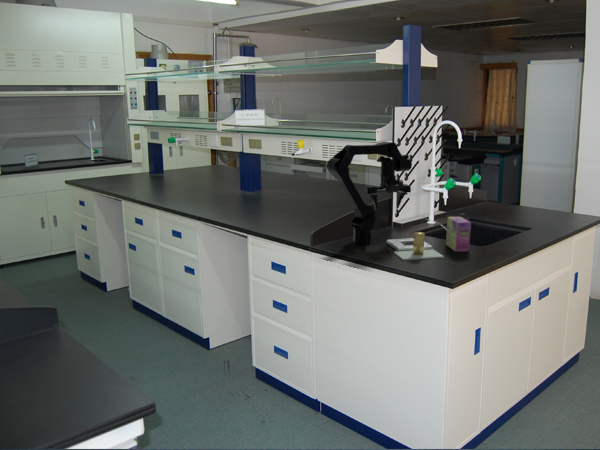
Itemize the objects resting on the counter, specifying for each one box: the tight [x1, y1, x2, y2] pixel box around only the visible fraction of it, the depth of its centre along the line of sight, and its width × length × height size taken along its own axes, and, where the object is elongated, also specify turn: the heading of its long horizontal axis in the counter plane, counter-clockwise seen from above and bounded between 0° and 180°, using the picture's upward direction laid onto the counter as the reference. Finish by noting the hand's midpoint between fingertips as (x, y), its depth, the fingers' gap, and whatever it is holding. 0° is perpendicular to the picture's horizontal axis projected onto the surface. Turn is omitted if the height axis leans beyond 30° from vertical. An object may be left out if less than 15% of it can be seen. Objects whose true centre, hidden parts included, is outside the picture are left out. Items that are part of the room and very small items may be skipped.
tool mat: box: [393, 248, 444, 261], centre depth 198 cm, size 16×10×1 cm, turn 99°
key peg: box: [412, 231, 425, 255], centre depth 197 cm, size 4×4×8 cm
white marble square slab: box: [386, 237, 433, 251], centre depth 210 cm, size 14×14×2 cm
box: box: [445, 216, 472, 253], centre depth 206 cm, size 10×6×12 cm, turn 5°
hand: (386, 209), depth 220 cm, fingers open, 9 cm apart
